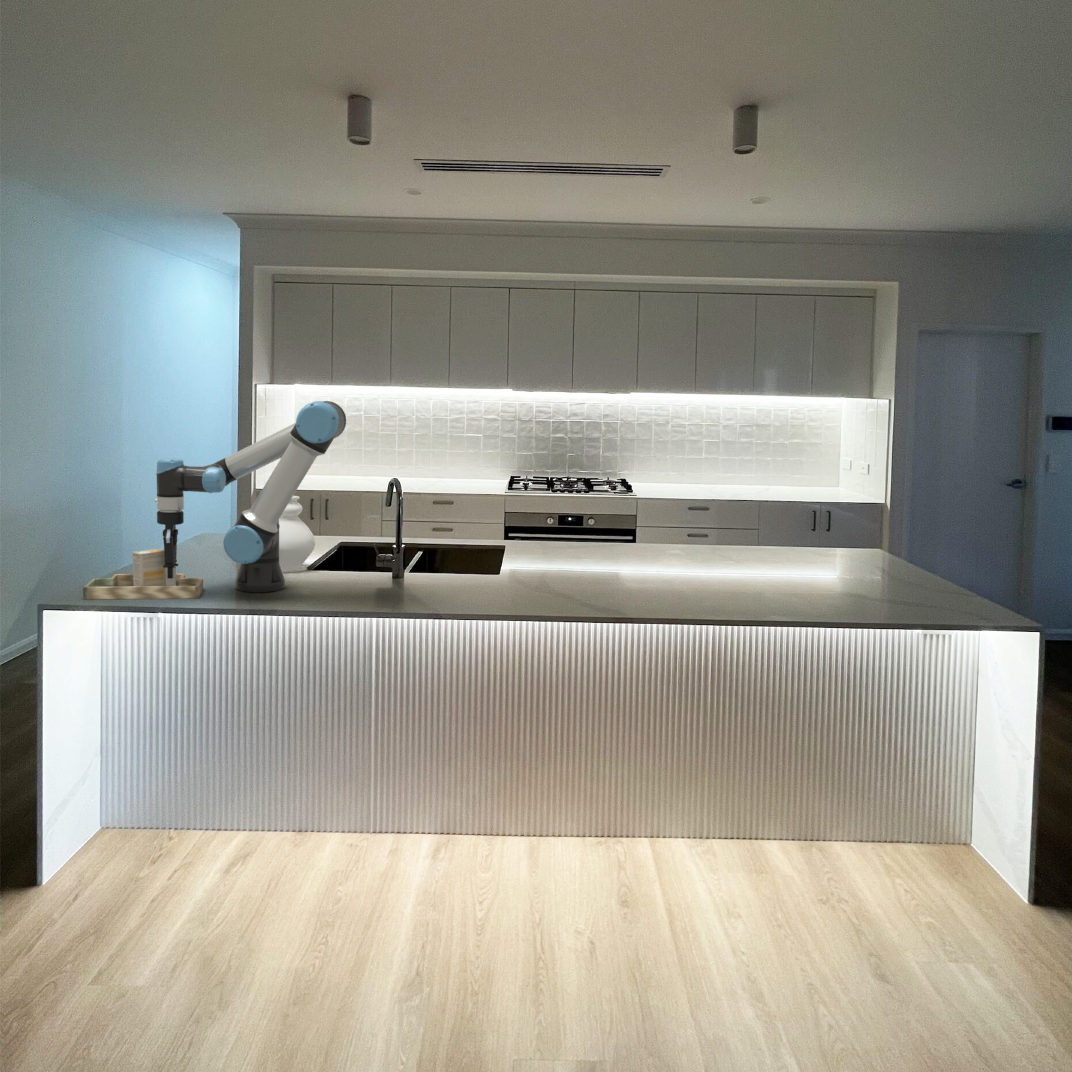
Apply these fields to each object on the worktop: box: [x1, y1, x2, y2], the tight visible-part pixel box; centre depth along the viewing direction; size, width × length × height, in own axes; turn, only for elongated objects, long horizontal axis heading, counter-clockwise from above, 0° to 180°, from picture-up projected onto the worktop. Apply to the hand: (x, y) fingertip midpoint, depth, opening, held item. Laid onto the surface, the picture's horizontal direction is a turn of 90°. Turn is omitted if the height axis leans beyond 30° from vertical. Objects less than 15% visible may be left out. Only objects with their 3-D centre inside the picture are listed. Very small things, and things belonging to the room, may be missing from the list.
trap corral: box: [82, 573, 204, 600], centre depth 325 cm, size 32×21×4 cm, turn 102°
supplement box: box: [131, 548, 166, 586], centre depth 321 cm, size 8×5×13 cm, turn 140°
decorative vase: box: [279, 495, 316, 573], centre depth 368 cm, size 18×18×25 cm
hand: (170, 588), depth 323 cm, fingers closed
